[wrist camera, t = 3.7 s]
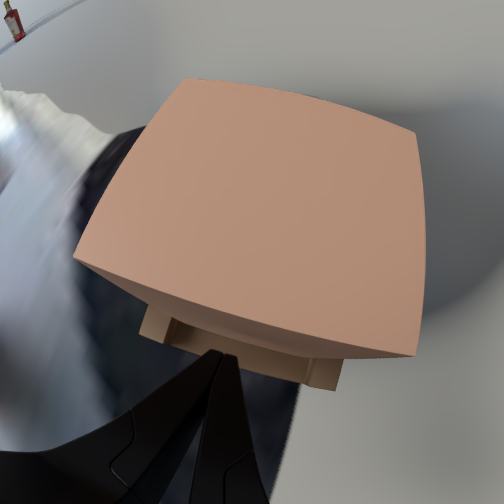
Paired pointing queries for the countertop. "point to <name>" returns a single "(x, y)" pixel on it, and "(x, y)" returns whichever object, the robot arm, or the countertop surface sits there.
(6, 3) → the liquor
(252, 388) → the countertop surface
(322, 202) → the block
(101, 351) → the countertop surface
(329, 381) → the chute
